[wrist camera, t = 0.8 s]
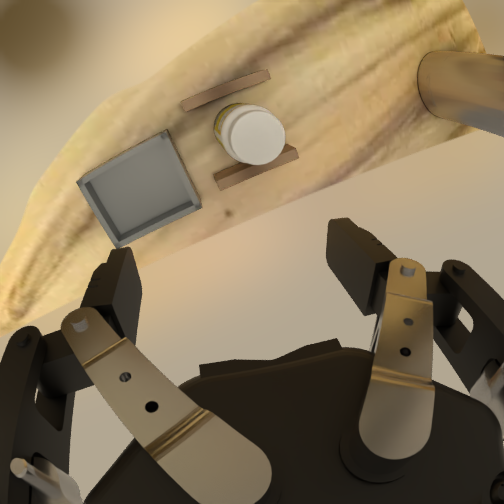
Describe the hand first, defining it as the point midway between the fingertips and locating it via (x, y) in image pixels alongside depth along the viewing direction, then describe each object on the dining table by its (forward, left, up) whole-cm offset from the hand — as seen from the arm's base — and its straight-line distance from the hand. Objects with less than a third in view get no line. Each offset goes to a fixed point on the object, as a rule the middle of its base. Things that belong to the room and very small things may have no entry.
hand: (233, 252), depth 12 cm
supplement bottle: (-4, -1, -19) cm, 20 cm away
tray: (+7, 0, -19) cm, 20 cm away
